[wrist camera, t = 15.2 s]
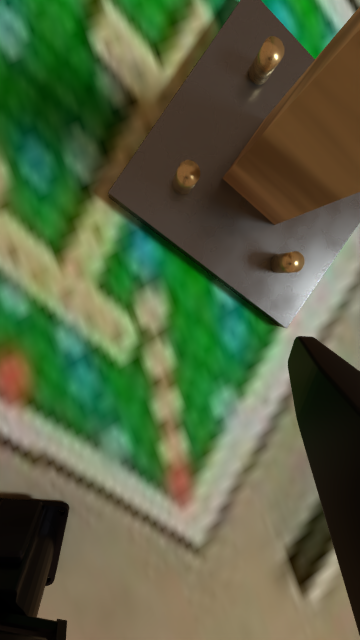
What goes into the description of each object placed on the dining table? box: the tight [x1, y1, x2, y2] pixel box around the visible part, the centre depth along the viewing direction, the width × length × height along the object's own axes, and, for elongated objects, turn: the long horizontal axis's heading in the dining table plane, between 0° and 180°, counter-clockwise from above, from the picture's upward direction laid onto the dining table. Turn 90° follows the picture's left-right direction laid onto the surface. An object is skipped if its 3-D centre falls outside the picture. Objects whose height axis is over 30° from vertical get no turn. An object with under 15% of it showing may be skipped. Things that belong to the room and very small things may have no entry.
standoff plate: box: [108, 0, 360, 328], centre depth 20 cm, size 16×16×3 cm
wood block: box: [223, 7, 360, 225], centre depth 14 cm, size 5×5×13 cm
